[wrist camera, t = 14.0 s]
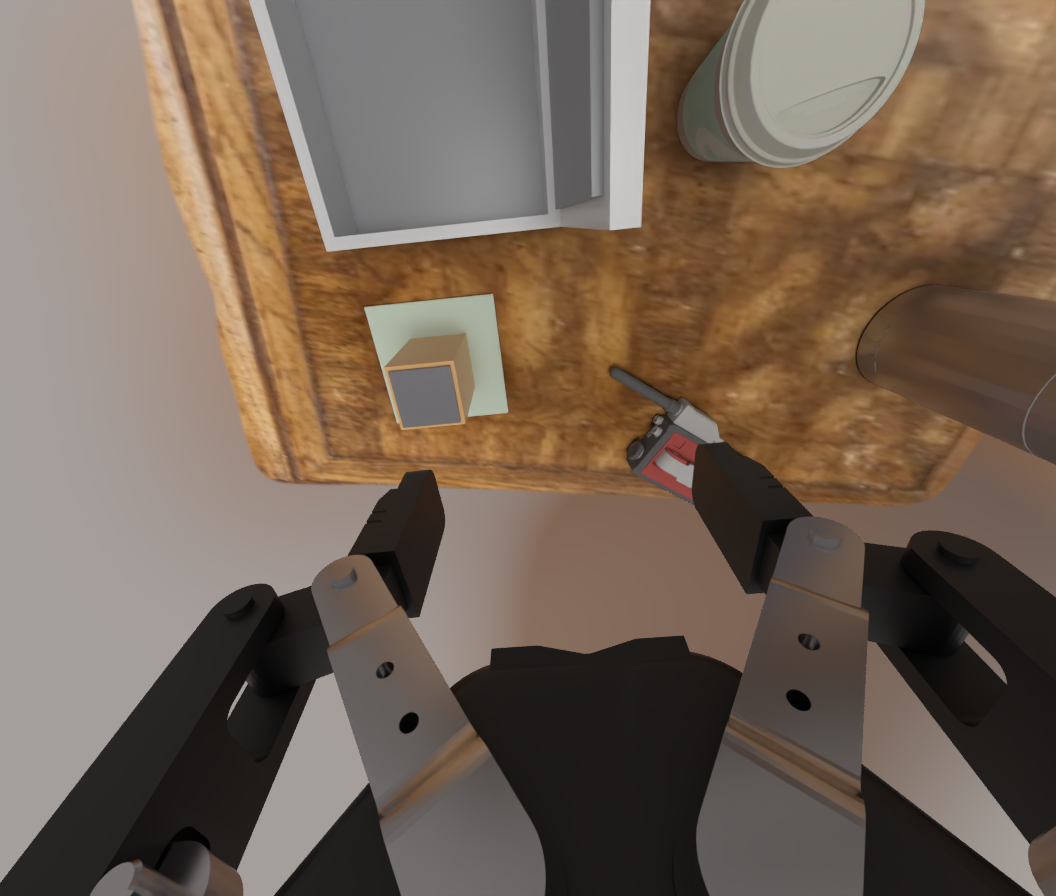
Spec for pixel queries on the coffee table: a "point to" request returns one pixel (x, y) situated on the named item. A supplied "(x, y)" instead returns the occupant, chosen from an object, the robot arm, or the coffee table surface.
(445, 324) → the pad
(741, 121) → the coffee cup
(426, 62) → the equipment case
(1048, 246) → the coffee table surface
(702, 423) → the walkie-talkie
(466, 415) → the block
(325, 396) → the coffee table surface
